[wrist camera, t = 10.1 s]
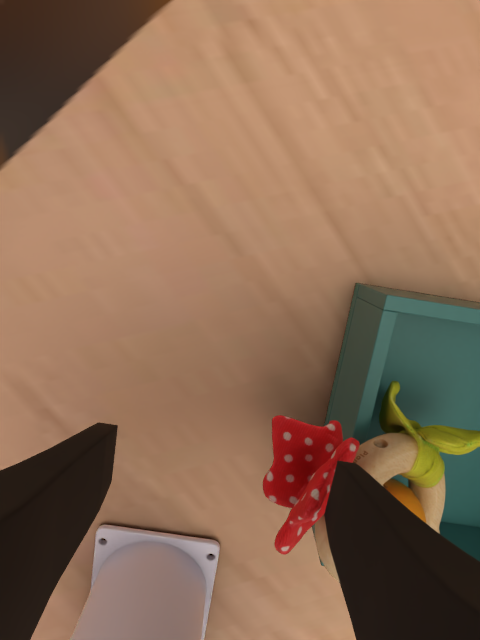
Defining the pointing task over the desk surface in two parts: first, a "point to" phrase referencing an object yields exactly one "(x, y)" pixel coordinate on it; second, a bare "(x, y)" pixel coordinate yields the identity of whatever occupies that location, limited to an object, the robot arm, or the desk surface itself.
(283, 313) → the desk surface
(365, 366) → the open box
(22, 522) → the robot arm
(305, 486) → the bird rattle
